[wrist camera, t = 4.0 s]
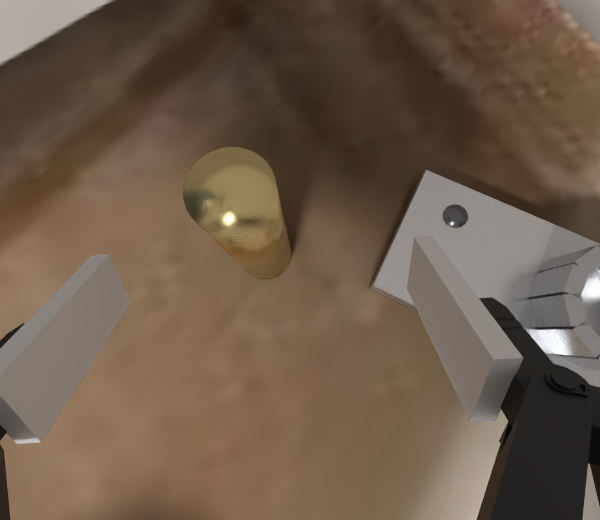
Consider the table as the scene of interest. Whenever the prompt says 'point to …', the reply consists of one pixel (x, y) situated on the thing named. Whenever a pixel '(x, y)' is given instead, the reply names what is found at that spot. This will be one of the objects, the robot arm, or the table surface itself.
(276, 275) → the hinge pin
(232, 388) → the table surface
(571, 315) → the hinge leaves
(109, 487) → the table surface
